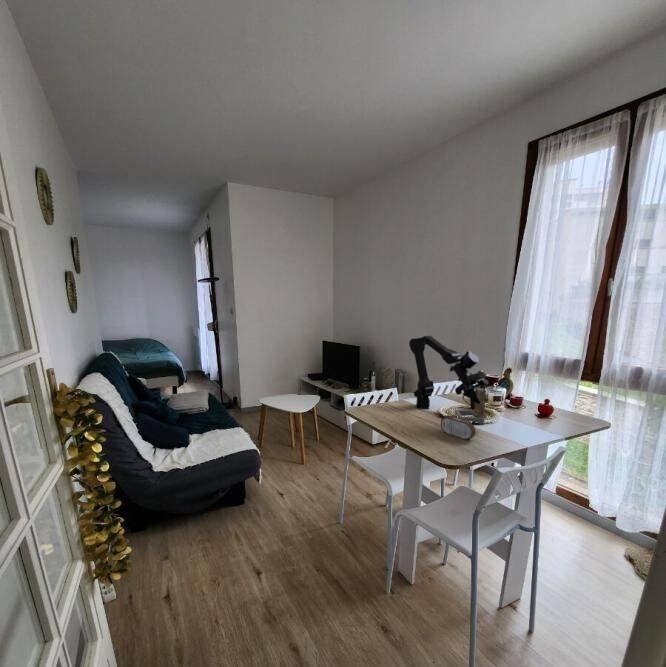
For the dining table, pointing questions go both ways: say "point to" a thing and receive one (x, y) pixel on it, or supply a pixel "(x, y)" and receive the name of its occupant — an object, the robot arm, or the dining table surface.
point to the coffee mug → (471, 402)
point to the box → (468, 412)
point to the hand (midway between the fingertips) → (482, 402)
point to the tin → (458, 427)
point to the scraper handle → (480, 404)
